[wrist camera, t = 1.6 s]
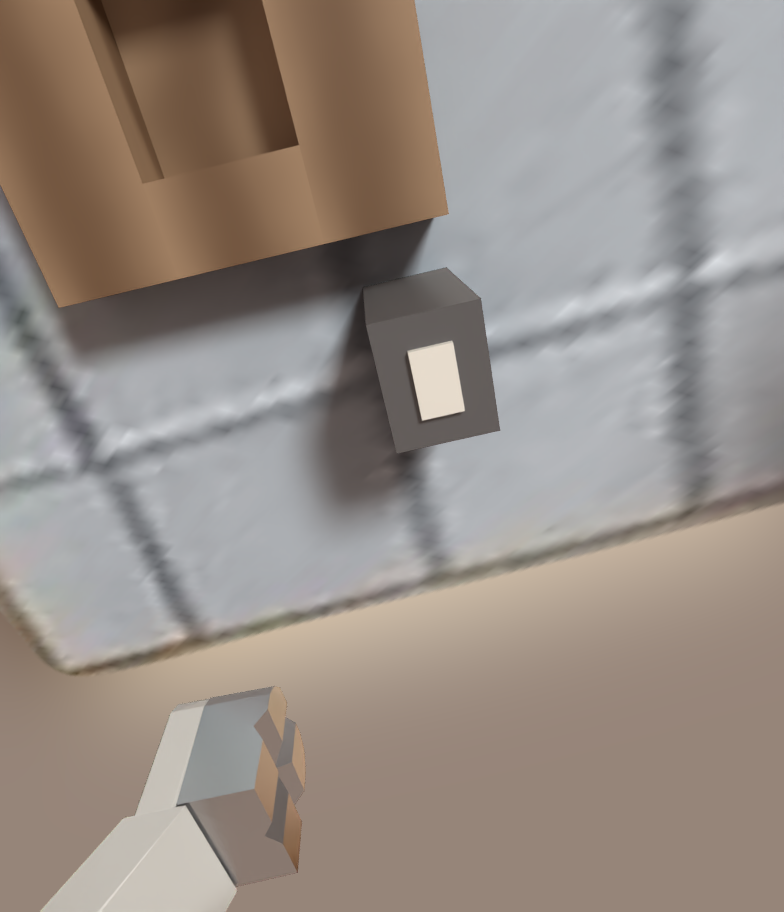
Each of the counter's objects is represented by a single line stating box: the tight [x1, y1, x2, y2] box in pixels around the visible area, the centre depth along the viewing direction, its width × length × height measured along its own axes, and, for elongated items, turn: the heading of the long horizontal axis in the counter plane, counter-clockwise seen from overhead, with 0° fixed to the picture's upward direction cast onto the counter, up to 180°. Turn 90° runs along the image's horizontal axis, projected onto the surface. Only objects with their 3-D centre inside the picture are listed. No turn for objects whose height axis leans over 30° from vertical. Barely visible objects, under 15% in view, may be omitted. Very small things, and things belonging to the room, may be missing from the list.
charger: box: [363, 267, 500, 453], centre depth 24 cm, size 4×5×8 cm
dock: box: [0, 0, 449, 308], centre depth 21 cm, size 16×14×4 cm
